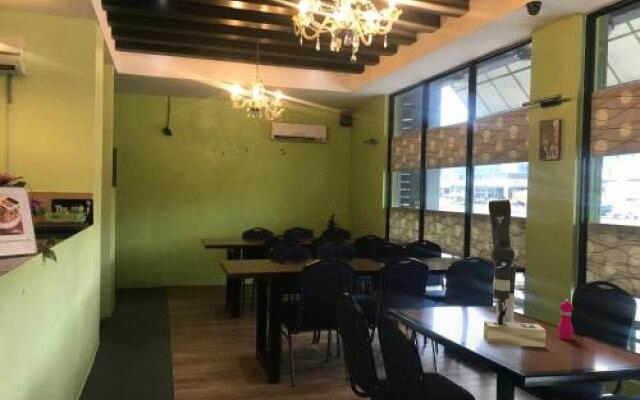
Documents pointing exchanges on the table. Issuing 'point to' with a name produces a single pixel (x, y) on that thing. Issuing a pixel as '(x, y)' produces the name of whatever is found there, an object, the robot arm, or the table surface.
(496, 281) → the robot arm
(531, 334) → the collar block
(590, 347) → the table surface
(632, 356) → the table surface
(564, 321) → the pepper mill
